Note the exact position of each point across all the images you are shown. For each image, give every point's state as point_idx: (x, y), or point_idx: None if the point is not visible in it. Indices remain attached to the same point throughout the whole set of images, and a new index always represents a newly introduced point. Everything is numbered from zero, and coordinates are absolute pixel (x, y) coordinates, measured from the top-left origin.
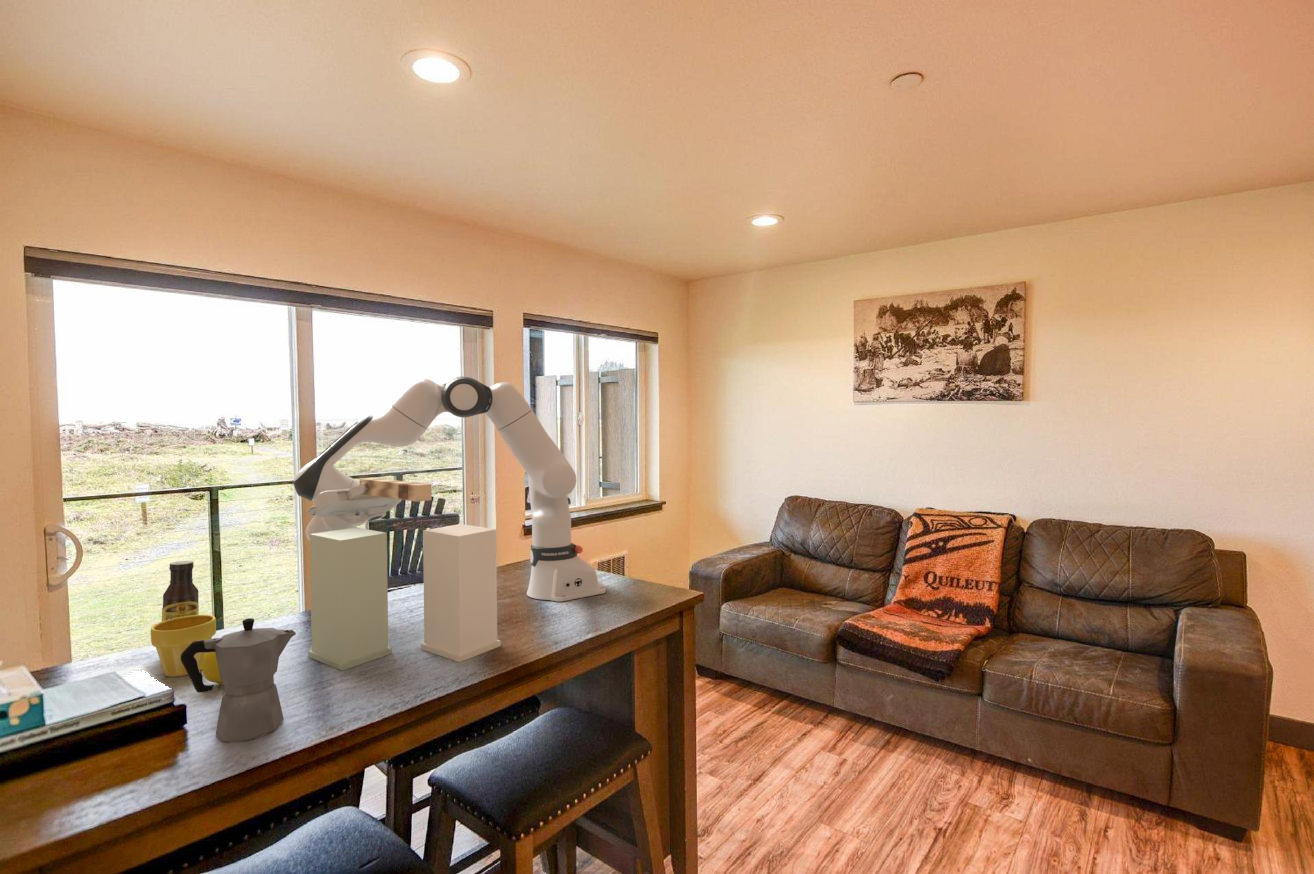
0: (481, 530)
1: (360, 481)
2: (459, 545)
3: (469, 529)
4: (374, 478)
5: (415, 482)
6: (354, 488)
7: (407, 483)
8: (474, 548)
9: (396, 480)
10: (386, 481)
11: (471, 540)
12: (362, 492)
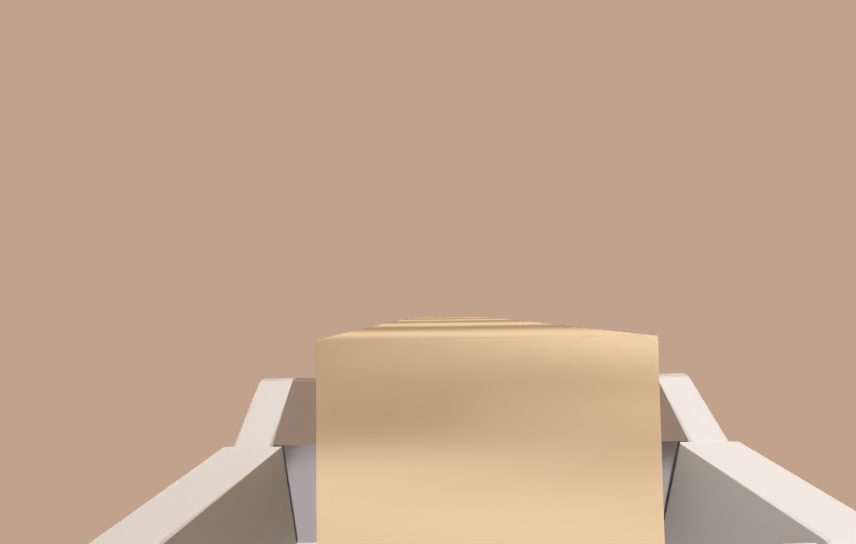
0: None
1: (649, 388)
2: None
3: None
4: (402, 333)
5: (409, 319)
6: (795, 495)
7: (472, 318)
8: None
9: (397, 323)
10: (504, 321)
11: None
12: (668, 527)
